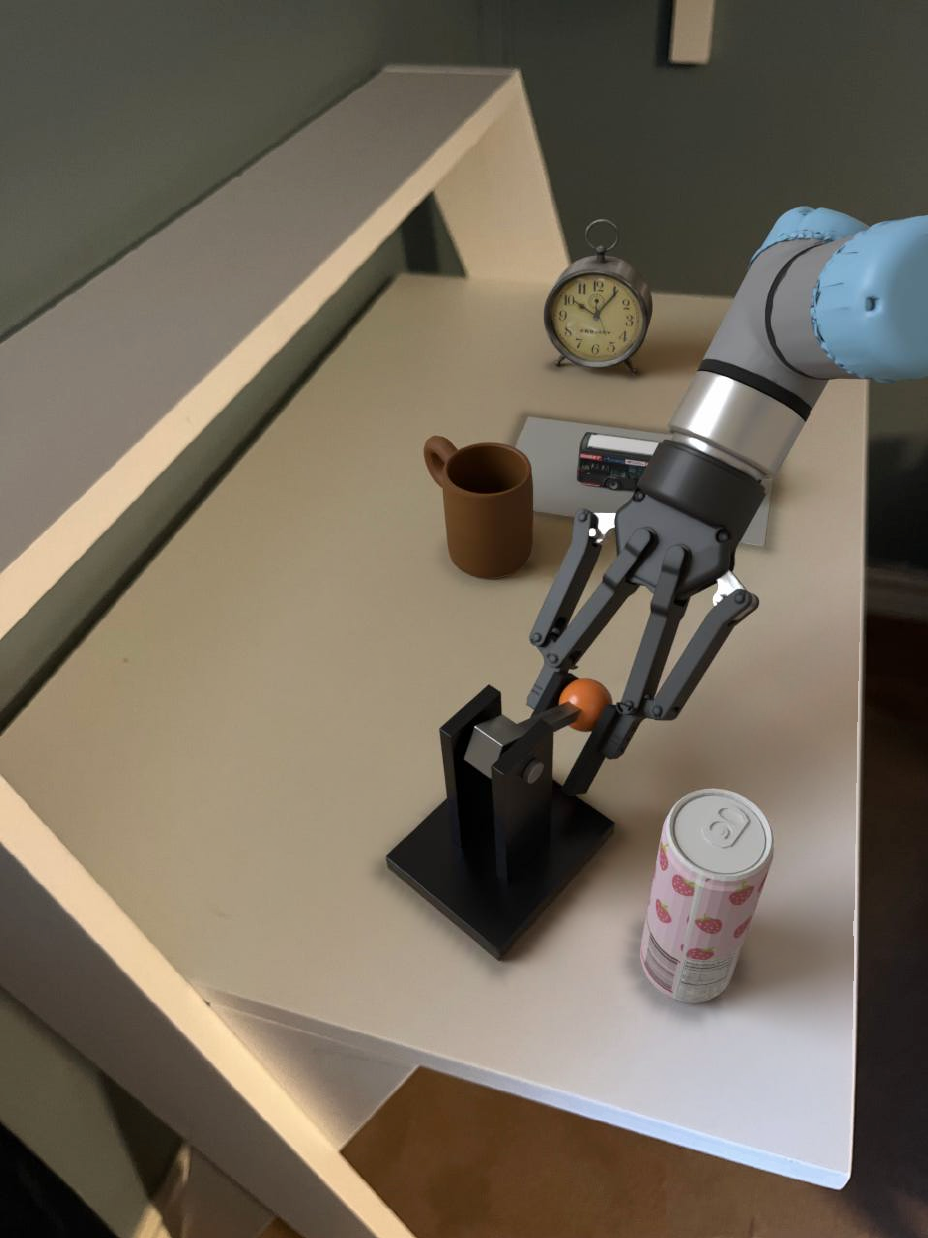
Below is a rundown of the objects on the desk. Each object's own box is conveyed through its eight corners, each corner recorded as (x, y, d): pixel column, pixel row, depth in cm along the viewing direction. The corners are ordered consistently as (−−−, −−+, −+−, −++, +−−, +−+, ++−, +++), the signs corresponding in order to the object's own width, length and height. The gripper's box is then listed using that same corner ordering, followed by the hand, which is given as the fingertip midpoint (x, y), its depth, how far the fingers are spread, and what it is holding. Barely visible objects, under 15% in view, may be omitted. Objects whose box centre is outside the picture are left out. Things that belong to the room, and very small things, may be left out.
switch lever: (570, 707, 67) (586, 663, 66) (612, 734, 66) (630, 689, 64) (451, 761, 57) (467, 711, 56) (497, 794, 56) (515, 743, 54)
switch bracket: (503, 756, 71) (498, 628, 61) (614, 834, 66) (629, 708, 56) (387, 867, 65) (361, 746, 55) (499, 962, 60) (492, 848, 50)
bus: (764, 546, 85) (773, 509, 82) (490, 504, 91) (489, 468, 88) (776, 448, 94) (784, 412, 91) (528, 416, 100) (528, 381, 97)
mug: (400, 528, 89) (390, 444, 82) (463, 491, 92) (458, 408, 85) (486, 595, 82) (482, 510, 76) (550, 553, 86) (552, 468, 79)
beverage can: (736, 927, 61) (780, 794, 50) (729, 1015, 57) (775, 893, 46) (645, 908, 62) (669, 774, 51) (633, 993, 58) (656, 869, 47)
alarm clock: (542, 372, 106) (543, 226, 94) (553, 346, 109) (555, 203, 97) (641, 384, 103) (655, 235, 91) (649, 357, 107) (664, 211, 95)
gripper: (848, 525, 60) (669, 839, 64) (630, 427, 69) (483, 712, 73) (825, 501, 54) (628, 852, 58) (587, 397, 62) (429, 710, 66)
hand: (548, 773), depth 65 cm, fingers closed on switch lever, 4 cm apart
